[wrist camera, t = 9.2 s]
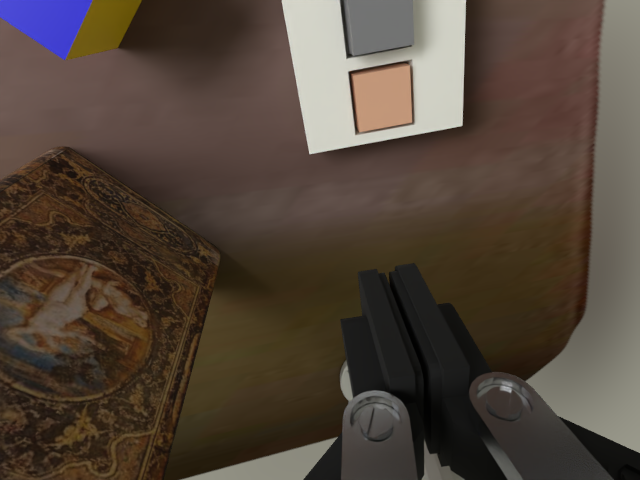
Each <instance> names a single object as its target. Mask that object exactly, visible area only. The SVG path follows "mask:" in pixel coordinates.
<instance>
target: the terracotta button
mask: <svg viewBox="0 0 640 480" xmlns="http://www.w3.org/2000/svg"><path fill="white" fill-rule="evenodd" d="M349 76H350V85H351V94H352V103H353V111H354V120H355V126H356V127H357V129H358V130H359V132H363V131H369V130H374V129H380V128H385V127H391V126H396V125H401V124H407V123H412V105H411V79H410V65H408V64H406V63H404V62H397V63H392V64H387V65H381V66H376V67H371V68H365V69H360V70H354V71H349Z"/></svg>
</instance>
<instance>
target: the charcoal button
mask: <svg viewBox="0 0 640 480" xmlns="http://www.w3.org/2000/svg"><path fill="white" fill-rule="evenodd" d="M343 3H344V12H345V21H346V30H347V39H348V48H349V53H350V54H352V55H353V56H355V55H361V54H366V53H371V52H377V51H382V50H388V49H393V48H398V47H404V46H409V45H414V22H413V0H343Z"/></svg>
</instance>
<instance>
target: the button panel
mask: <svg viewBox="0 0 640 480" xmlns="http://www.w3.org/2000/svg"><path fill="white" fill-rule="evenodd" d="M282 5H283V11H284V16H285V22H286V27H287V33H288V38H289V44H290V49H291V55H292V60H293V66H294V71H295V77H296V82H297V88H298V94H299V99H300V105H301V110H302V116H303V121H304V127H305V132H306V138H307V143H308V149H309V154H313V153H319V152H324V151H330V150H335V149H340V148H346V147H351V146H357V145H362V144H368V143H373V142H378V141H384V140H389V139H395V138H400V137H406V136H411V135H417V134H422V133H427V132H433V131H438V130H444V129H449V128H455V127H460V126H462V125H463V89H464V54H465V18H466V0H413V22H414V45H409V46H404V47H398V48H393V49H388V50H382V51H377V52H371V53H366V54H361V55H355V56H353V55H352V54H350V53H349V48H348V39H347V30H346V21H345V12H344V3H343V0H282ZM397 62H404V63H406V64H408V65H410V79H411V105H412V123H407V124H401V125H396V126H391V127H385V128H380V129H374V130H369V131H363V132H359V130H358V129H357V127H356V126H355V120H354V111H353V103H352V94H351V85H350V76H349V71H354V70H360V69H365V68H371V67H376V66H381V65H387V64H392V63H397Z"/></svg>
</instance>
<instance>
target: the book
mask: <svg viewBox="0 0 640 480" xmlns="http://www.w3.org/2000/svg"><path fill="white" fill-rule="evenodd" d="M219 265H220V252H219V250H218V249H217V248H216V247H215V246H213V245H212V244H211V243H209V242H208V241H206V240H205V239H204V238H202V237H201V236H199V235H198V234H197V233H195V232H194V231H192V230H191V229H189V228H188V227H186V226H185V225H183V224H182V223H181V222H179V221H178V220H176V219H175V218H173V217H172V216H170V215H169V214H167V213H166V212H164V211H163V210H161V209H160V208H158V207H157V206H155V205H154V204H152V203H151V202H149V201H148V200H146V199H145V198H143V197H142V196H140V195H139V194H137V193H136V192H134V191H133V190H131V189H130V188H128V187H127V186H125V185H124V184H122V183H121V182H119V181H118V180H116V179H115V178H113V177H112V176H110V175H109V174H107V173H106V172H104V171H103V170H102V169H100V168H99V167H97V166H96V165H94V164H93V163H91V162H90V161H88V160H87V159H85V158H84V157H82V156H81V155H79V154H78V153H76V152H75V151H73V150H72V149H70V148H69V147H56V148H53V149H50V150H49V151H47V152H45V153H44V154H42V155H40V156H39V157H37V158H35V159H34V160H32V161H30V162H29V163H27V164H25V165H24V166H22V167H20V168H19V169H17V170H15V171H14V172H12V173H10V174H9V175H7V176H5V177H4V178H2V179H0V480H163V479H164V476H165V472H166V468H167V464H168V460H169V456H170V453H171V449H172V445H173V441H174V437H175V433H176V430H177V426H178V422H179V418H180V414H181V411H182V407H183V403H184V399H185V395H186V391H187V388H188V384H189V380H190V376H191V372H192V368H193V365H194V361H195V357H196V353H197V349H198V346H199V342H200V338H201V334H202V330H203V326H204V323H205V319H206V315H207V311H208V307H209V303H210V300H211V296H212V292H213V288H214V284H215V281H216V277H217V273H218V269H219Z"/></svg>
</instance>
